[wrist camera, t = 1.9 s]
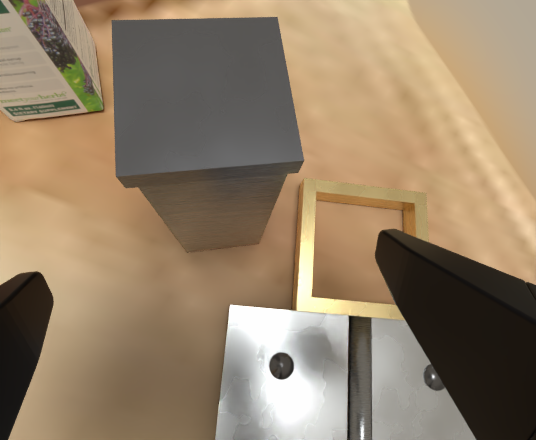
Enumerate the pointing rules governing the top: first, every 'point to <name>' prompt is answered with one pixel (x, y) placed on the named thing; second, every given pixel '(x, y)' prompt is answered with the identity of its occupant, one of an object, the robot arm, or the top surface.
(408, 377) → the hinge leaves
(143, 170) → the pin
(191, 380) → the top surface
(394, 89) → the top surface
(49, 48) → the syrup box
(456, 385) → the robot arm
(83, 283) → the top surface
